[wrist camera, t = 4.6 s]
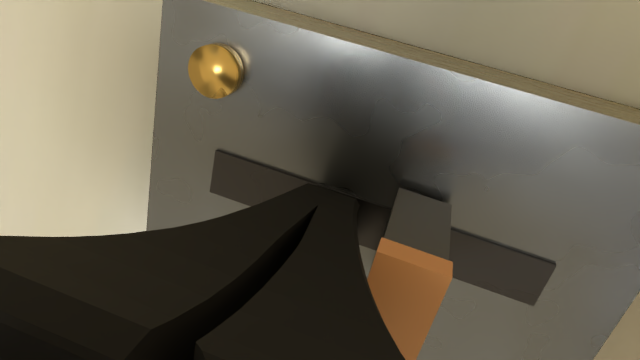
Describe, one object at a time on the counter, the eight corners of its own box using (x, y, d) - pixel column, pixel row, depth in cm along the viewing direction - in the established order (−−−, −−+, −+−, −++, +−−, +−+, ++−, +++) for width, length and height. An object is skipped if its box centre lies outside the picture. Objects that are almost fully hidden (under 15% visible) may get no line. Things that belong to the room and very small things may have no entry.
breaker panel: (688, 122, 10) (745, 158, 8) (464, 486, 17) (465, 560, 14) (206, -13, 12) (153, -11, 10) (165, 361, 18) (127, 410, 16)
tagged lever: (454, 203, 10) (452, 277, 8) (416, 297, 11) (403, 389, 9) (398, 185, 10) (376, 251, 8) (365, 279, 12) (339, 363, 9)
